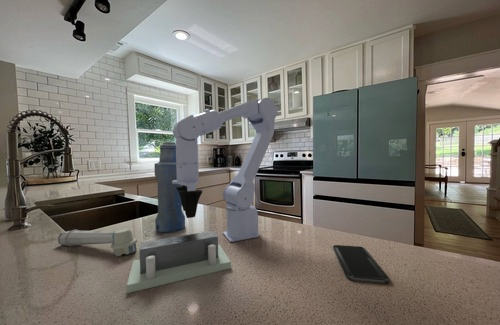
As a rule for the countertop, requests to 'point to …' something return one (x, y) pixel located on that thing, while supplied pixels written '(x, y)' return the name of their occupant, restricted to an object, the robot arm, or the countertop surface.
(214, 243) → the steel bar
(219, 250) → the peg rack
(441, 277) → the countertop surface
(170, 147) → the bottle
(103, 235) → the pale grey handled tool
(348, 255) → the phone
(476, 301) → the countertop surface
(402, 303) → the countertop surface
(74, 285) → the countertop surface
